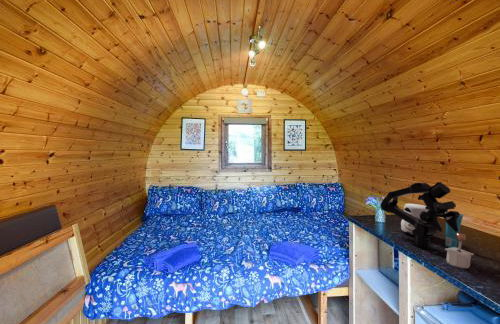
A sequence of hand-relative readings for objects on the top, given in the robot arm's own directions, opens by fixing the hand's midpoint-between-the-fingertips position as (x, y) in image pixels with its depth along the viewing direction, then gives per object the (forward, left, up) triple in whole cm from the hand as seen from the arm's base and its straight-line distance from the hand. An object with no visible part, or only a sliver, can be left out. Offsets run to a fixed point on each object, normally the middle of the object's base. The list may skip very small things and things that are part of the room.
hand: (449, 231), depth 117 cm
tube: (-10, +21, -14) cm, 27 cm away
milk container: (-29, +21, -14) cm, 38 cm away
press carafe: (+5, 0, -13) cm, 14 cm away
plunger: (+5, -1, -9) cm, 10 cm away
